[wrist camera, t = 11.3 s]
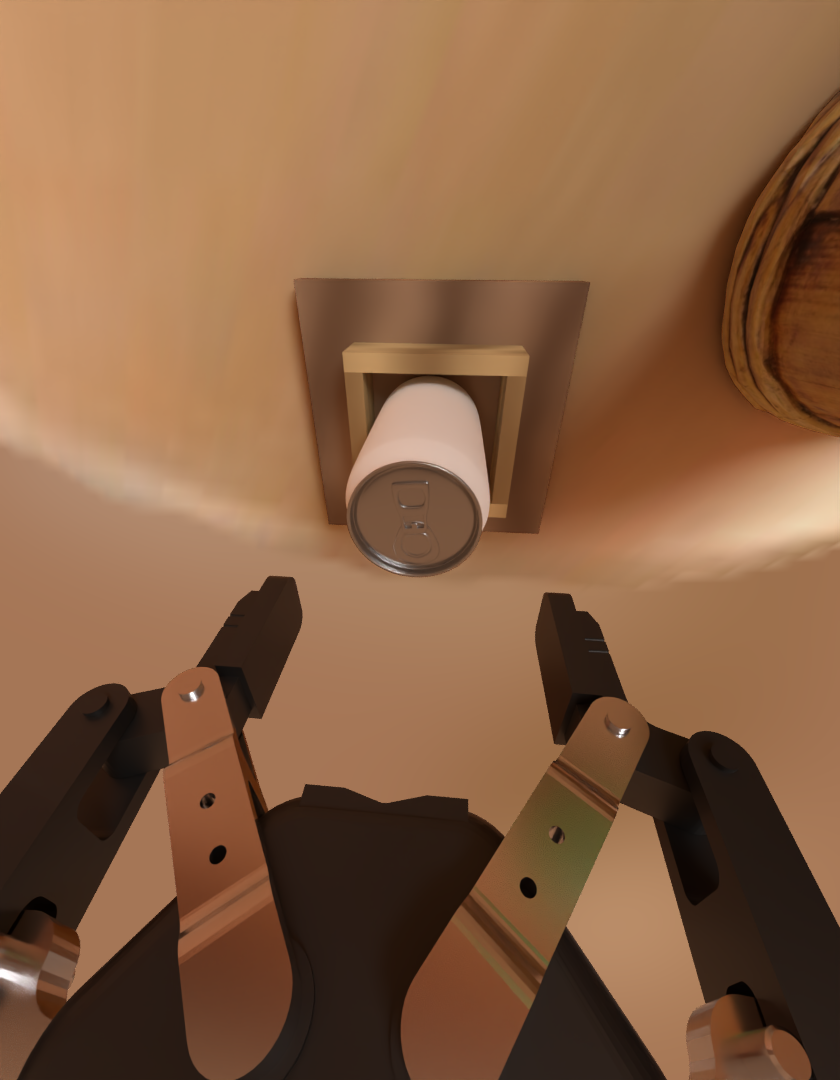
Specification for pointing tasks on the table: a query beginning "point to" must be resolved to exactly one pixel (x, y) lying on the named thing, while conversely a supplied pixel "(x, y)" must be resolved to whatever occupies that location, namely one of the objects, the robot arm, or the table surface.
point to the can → (420, 481)
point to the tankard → (791, 287)
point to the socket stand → (445, 372)
